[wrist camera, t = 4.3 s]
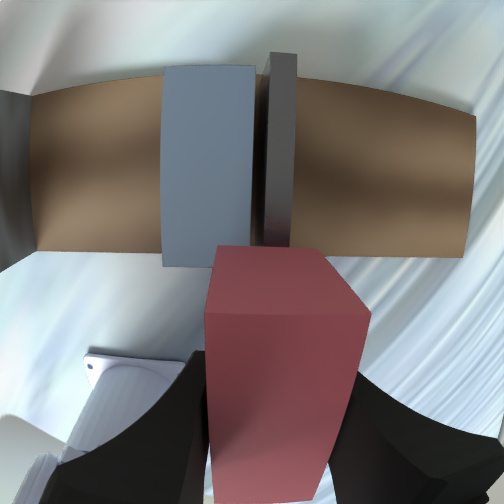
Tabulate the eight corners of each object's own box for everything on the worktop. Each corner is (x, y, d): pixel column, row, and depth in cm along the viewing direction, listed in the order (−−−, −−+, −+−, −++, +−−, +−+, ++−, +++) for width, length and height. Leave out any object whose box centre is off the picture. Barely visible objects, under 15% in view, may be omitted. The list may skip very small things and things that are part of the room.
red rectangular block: (293, 413, 13) (312, 499, 9) (217, 413, 13) (214, 503, 8) (317, 248, 11) (371, 312, 6) (217, 245, 11) (204, 312, 6)
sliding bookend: (272, 247, 18) (286, 283, 13) (254, 247, 18) (261, 283, 13) (278, 83, 15) (296, 54, 10) (259, 82, 15) (270, 51, 10)
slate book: (245, 237, 18) (248, 268, 13) (182, 236, 17) (162, 266, 13) (249, 91, 15) (255, 65, 11) (184, 91, 15) (164, 66, 10)
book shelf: (455, 253, 20) (518, 289, 13) (31, 246, 18) (-33, 283, 11) (467, 116, 17) (539, 113, 10) (26, 101, 15) (-43, 90, 8)
